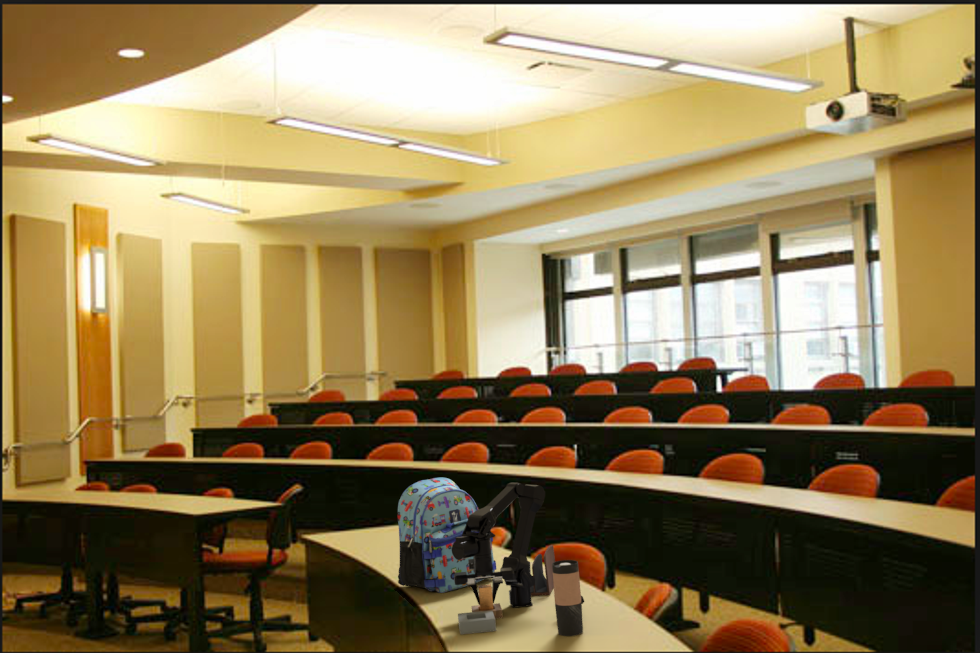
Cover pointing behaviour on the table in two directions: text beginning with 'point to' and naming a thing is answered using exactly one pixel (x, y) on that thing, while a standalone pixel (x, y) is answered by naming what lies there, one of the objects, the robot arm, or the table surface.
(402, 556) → the backpack
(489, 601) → the peg
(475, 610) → the mount
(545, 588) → the letter holder
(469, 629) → the socket
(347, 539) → the table surface
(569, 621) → the travel mug
